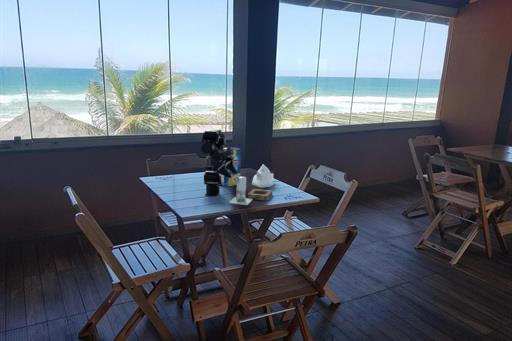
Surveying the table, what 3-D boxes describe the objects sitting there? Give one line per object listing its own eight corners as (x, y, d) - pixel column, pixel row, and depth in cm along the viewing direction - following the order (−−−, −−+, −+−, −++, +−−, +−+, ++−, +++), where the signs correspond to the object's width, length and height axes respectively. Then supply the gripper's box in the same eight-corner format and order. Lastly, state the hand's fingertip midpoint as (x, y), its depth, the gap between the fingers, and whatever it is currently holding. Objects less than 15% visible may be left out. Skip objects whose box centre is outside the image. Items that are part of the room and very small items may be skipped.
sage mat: (228, 203, 193) (228, 202, 193) (234, 197, 202) (234, 197, 202) (247, 205, 191) (247, 204, 191) (252, 199, 200) (252, 199, 200)
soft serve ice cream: (278, 189, 227) (279, 168, 220) (254, 192, 224) (254, 171, 218) (273, 179, 238) (273, 159, 231) (250, 181, 235) (249, 161, 228)
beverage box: (219, 183, 230) (219, 148, 225) (235, 182, 235) (236, 147, 230) (223, 186, 224) (224, 150, 219) (240, 184, 229) (241, 149, 224)
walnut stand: (247, 198, 202) (247, 194, 201) (253, 193, 212) (253, 188, 212) (267, 200, 199) (267, 196, 198) (272, 195, 209) (272, 190, 209)
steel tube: (234, 201, 195) (235, 178, 192) (237, 198, 199) (238, 176, 197) (244, 202, 193) (244, 178, 191) (246, 199, 198) (247, 176, 196)
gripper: (218, 145, 183) (239, 169, 183) (230, 140, 201) (249, 162, 201) (203, 160, 187) (223, 183, 187) (216, 153, 204) (235, 175, 204)
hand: (233, 175), depth 194 cm, fingers open, 9 cm apart
